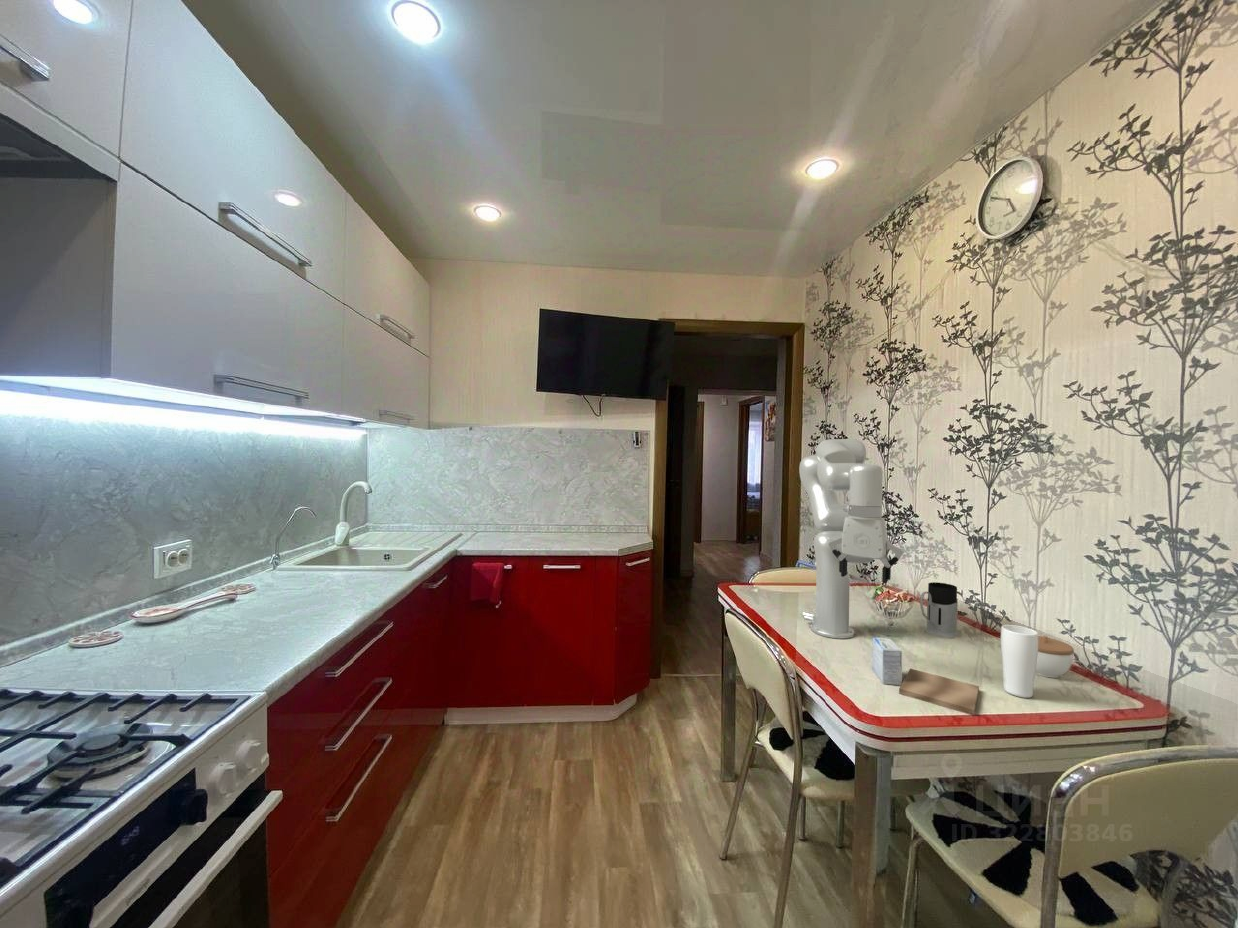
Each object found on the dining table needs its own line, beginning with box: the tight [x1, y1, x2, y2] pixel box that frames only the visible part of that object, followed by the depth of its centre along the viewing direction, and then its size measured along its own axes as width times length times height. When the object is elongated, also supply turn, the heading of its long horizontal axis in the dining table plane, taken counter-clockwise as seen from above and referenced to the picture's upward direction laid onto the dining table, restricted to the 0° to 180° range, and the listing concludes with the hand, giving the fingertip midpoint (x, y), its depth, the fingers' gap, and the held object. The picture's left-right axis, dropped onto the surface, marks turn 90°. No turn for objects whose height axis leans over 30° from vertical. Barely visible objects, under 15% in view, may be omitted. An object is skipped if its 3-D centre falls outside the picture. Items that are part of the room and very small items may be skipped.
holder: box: [919, 581, 959, 639], centre depth 149 cm, size 9×14×15 cm, turn 113°
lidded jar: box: [1035, 635, 1074, 679], centre depth 122 cm, size 11×11×9 cm
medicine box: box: [871, 637, 903, 687], centre depth 118 cm, size 8×4×9 cm, turn 168°
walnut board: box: [898, 668, 980, 716], centre depth 111 cm, size 14×14×1 cm
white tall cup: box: [1000, 624, 1039, 699], centre depth 111 cm, size 7×7×15 cm
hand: (864, 578), depth 122 cm, fingers open, 9 cm apart
